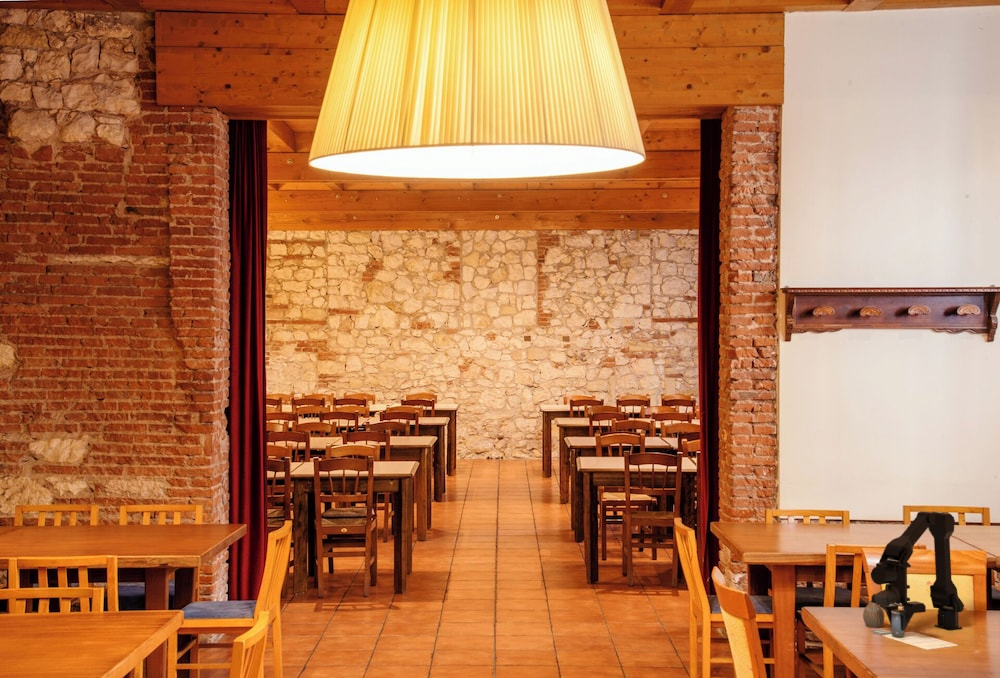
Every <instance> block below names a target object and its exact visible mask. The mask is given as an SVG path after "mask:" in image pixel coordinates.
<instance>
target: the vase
mask: <svg viewBox="0 0 1000 678" xmlns="http://www.w3.org/2000/svg"><path fill="white" fill-rule="evenodd" d="M862 619H863V623H864V625H866V626H867V627H868V628H873V629H877V628H880V627H882V626H883V624H884V621H885V613H884V609H883V608H882V607H880V606H879V605H877V604H876V603H872V602H871V600H869V602H868V604H867V605H866V606H865V608H864V609H863V613H862Z"/></svg>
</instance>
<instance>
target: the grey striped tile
mask: <svg viewBox="0 0 1000 678" xmlns="http://www.w3.org/2000/svg"><path fill="white" fill-rule="evenodd" d="M869 632H870V633H871V632H872V634H876V635H879V636H883V635H888V634H892V630H887V629H884V628H883V629H875V630H869Z"/></svg>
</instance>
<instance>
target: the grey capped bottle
mask: <svg viewBox="0 0 1000 678" xmlns="http://www.w3.org/2000/svg"><path fill="white" fill-rule="evenodd" d="M891 620H892V627H891V632H892V636H896V637H904V636H905V631H906V630H905V631H902V630H901V617H900V614H899V612H898V611H897V610H891Z"/></svg>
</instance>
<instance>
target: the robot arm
mask: <svg viewBox="0 0 1000 678" xmlns="http://www.w3.org/2000/svg"><path fill="white" fill-rule="evenodd" d="M955 521H956V520H955V517H954V515H952V514H951V513H948V512H940V511H923V510H921V511H918V512H917V514H916V517H915V518H914V519H913V520H912V521H911V523H910V524H909V525H908V526H907V528H906V529H905V530H904V531H903V533H901V535H900V536H897V537H895V538H893V539H891V541H889V542H888V543H887V544H886V546H885V548H884V550H883V551H882V553H881V557H880V559H879V562H877V563H876V564H875V566H874V567H873V568H872V570H871V572H870V578H871V581H872V582H873V583H874V584H876V585H885V587H884V589H882V590H880V591H879V592H876V593H873V594H872V596H871V600H870V601H871V602H872V603H876V604H877V605H879V606H880V607H881V608H882V610H883V611H885V613H886V616H887V618H888V622H889V624H890V627H891V628H892V620H891V610H897V611H898V612H899V614H900V617H901V630H902V631H906V629H907V627H908V625H909V622H910V621H911V619H912V618H913V616H914V614H920V613H926V608H927V607H926V605H925V603H924V602H920V601H918V600H917V601H916V600H914V601H911V597H908V589H911V586H910V585H909V584H908V568H911V567H912V565H911V564H910V563H909V562H908V561H909V560H910V558H911V557H912V555H913V553H914V546H915V545H916V543H917V542H918V540H920V538H921V537H922V536H923V534H925V532H926V531H927V530H928V532H929V533H930V534H931V536H932V537H933V543H934V565H935V567H934V568H935V581H934V583H933V584H931V585H930V586H929V590H930V593H929V594H930V595H929V597H930V599H931V604H932V607H933V609H937V618H936V619H937V620H936V621H937V623H936V624H934V627H937V628H940V629H944V630H947V631H952V630H959V629H963V626H960V625H959V613H962V612H963V611H964V607H965V604H964V603H963V601H962V600H961V598H960V597H959V594H958V588H957V586H956V585H955V583H954V581H953V580H952V561H951V543H950V541H951V540H950V539H951V536H952V535H953V533H954V532H955V524H956V522H955ZM899 607H900V608H901V609H899Z"/></svg>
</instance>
